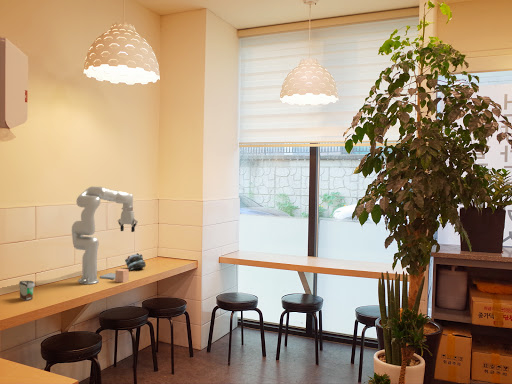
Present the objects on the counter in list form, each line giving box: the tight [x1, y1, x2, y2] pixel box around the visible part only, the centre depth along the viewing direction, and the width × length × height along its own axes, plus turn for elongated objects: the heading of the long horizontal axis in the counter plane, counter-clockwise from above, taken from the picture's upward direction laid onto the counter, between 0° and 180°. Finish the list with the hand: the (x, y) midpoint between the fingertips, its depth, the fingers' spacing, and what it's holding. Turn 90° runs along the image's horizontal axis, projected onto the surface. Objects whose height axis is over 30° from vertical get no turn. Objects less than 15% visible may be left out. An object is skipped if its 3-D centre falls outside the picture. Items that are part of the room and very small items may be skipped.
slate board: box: [99, 272, 115, 280], centre depth 341 cm, size 12×12×1 cm
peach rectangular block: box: [114, 268, 130, 283], centre depth 329 cm, size 6×6×8 cm
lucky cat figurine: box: [124, 253, 147, 272], centre depth 370 cm, size 15×12×14 cm
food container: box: [18, 280, 36, 302], centre depth 279 cm, size 12×6×10 cm, turn 48°
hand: (127, 231), depth 363 cm, fingers open, 9 cm apart
